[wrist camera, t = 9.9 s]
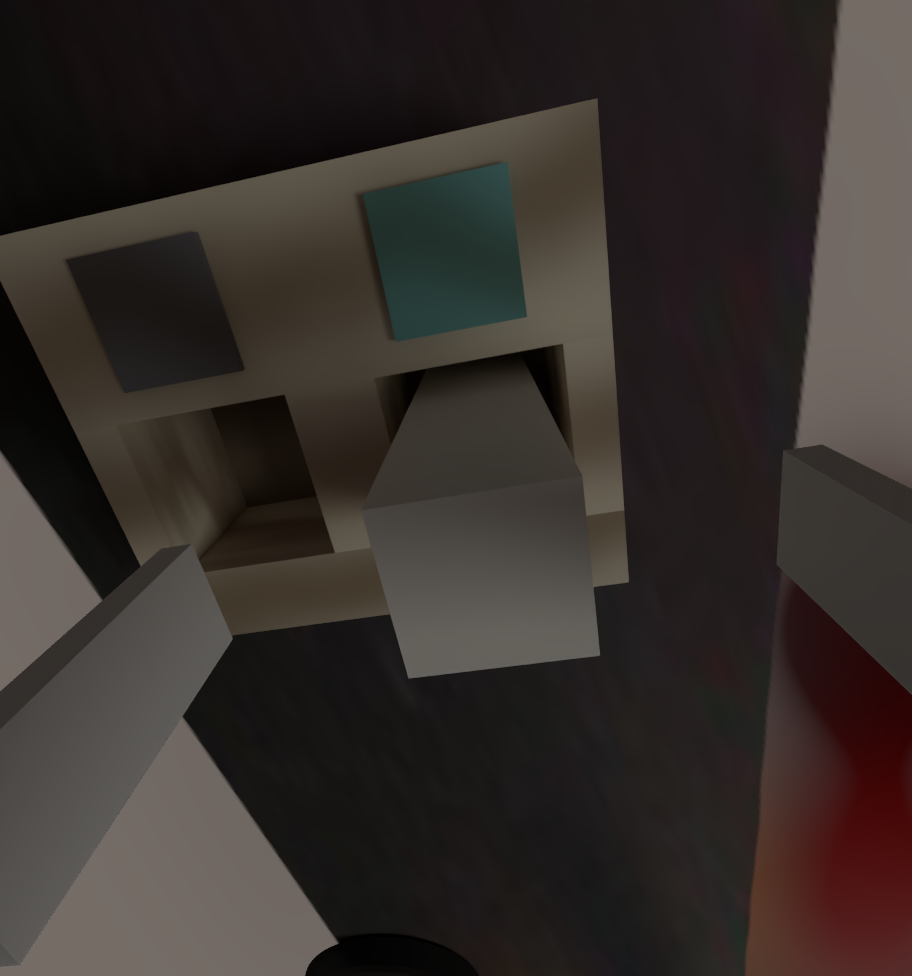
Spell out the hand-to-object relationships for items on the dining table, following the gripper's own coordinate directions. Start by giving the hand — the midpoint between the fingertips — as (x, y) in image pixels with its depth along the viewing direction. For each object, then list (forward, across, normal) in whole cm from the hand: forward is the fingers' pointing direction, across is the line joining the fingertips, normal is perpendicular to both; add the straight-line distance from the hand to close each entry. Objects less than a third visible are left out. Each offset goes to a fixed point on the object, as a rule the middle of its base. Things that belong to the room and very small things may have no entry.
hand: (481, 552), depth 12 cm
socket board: (+13, +4, -2) cm, 14 cm away
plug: (+12, 0, 0) cm, 12 cm away
